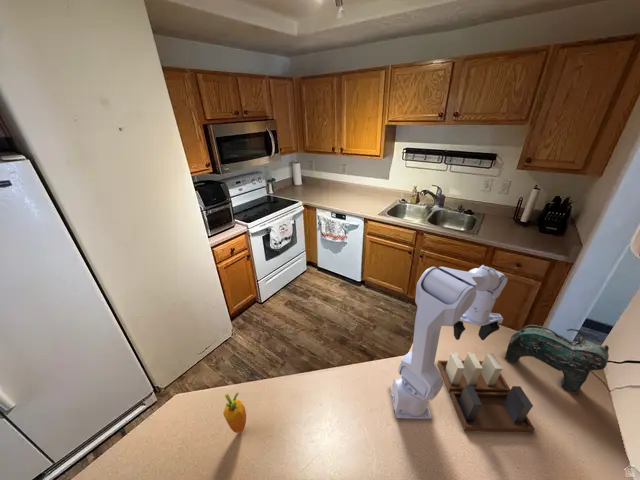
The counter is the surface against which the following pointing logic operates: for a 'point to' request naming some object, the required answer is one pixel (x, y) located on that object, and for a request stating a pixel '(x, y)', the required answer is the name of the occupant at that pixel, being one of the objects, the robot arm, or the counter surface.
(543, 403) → the counter surface
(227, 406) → the carrot
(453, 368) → the cream book
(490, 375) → the cream book
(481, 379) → the shallow brown tray
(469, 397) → the charcoal book
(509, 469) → the counter surface
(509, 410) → the charcoal book
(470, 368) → the cream book
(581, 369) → the green mottled arch
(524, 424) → the dark wooden tray
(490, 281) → the robot arm
